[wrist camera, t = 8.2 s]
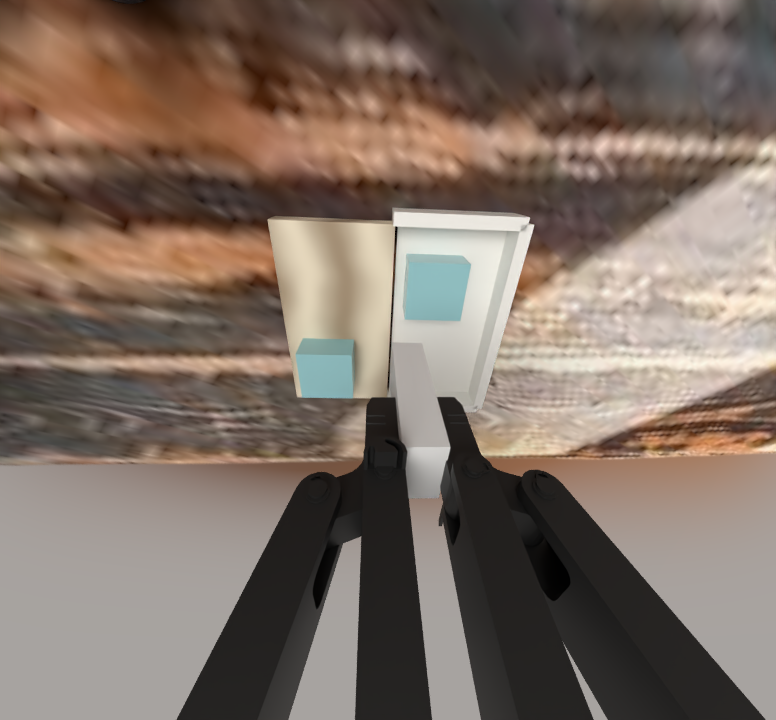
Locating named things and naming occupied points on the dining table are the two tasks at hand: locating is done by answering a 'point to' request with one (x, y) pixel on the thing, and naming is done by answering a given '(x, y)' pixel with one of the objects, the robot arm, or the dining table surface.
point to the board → (338, 289)
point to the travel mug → (129, 1)
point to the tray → (482, 299)
